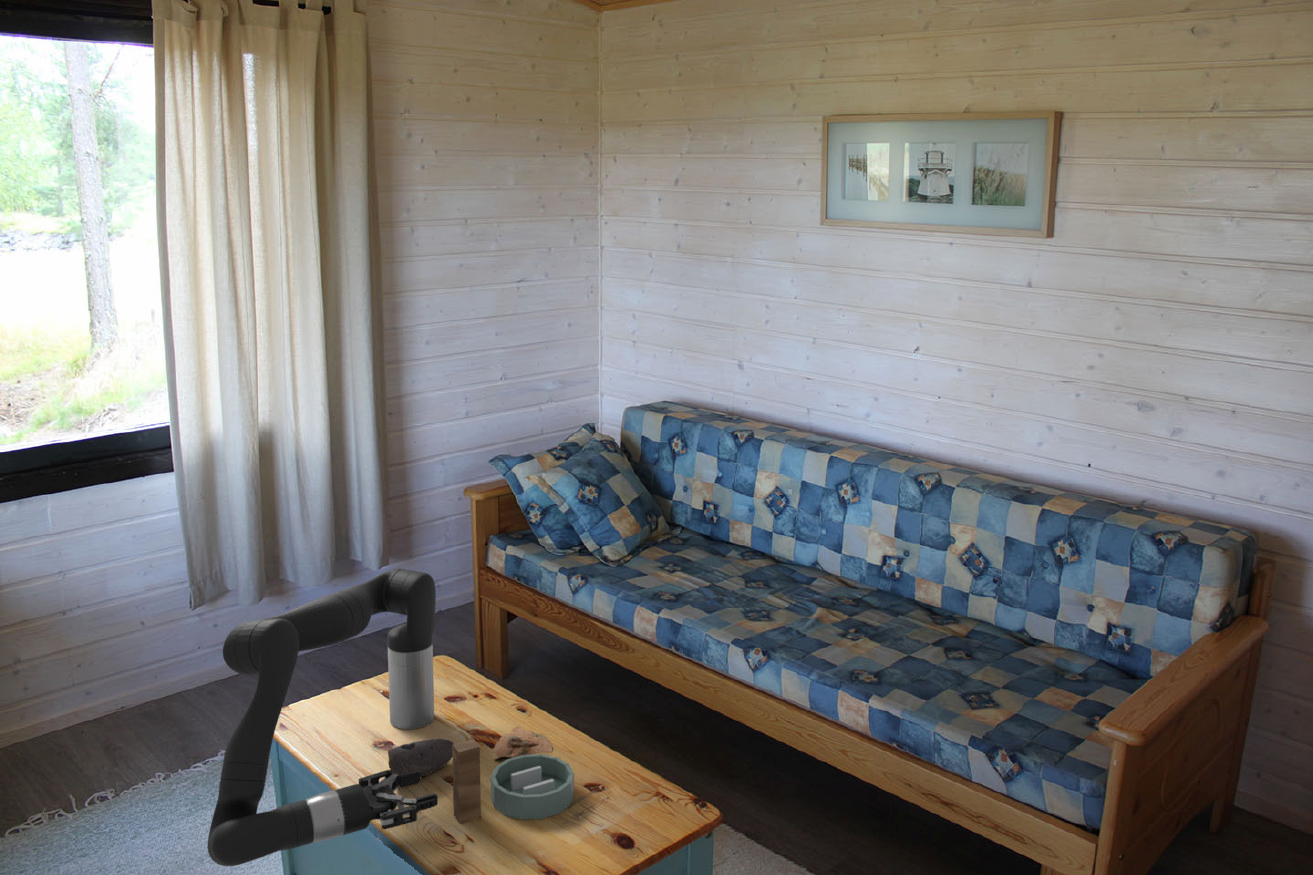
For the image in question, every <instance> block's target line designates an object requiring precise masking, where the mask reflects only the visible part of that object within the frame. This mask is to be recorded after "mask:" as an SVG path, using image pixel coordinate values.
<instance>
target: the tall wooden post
mask: <svg viewBox="0 0 1313 875" xmlns="http://www.w3.org/2000/svg"><path fill="white" fill-rule="evenodd" d="M452 754H453V757H452V790H453V792H452V793H453V794H452V795H453V796H452V797H453V816H454V818H455V819H456V820H457V822H458V823H459V824H460V825H461V824H464V823H466V822H470V821H473V820H476V819H480V818H481V817H482V802H481V801H482V800H481V798H482V797H481V796H482V793H481V789H482V787H481V746H480V745H479V744H478V743H477V742H476V740H474V739H470V740H466V741H462V742H458V743H454V745H452Z"/></svg>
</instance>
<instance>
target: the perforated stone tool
mask: <svg viewBox="0 0 1313 875" xmlns="http://www.w3.org/2000/svg"><path fill="white" fill-rule="evenodd" d="M454 744H455V743H454V742H453V741H452V740H450V739H445V738H437V737H436V738H428V739H423V740H418V741H412V742H409V743H404V744H401V745H399V746H396V747H393V748H390V749H388V750H387V755H388V761H387V762H388V767H389V770H391V773H392V774H398V775H401V774H405V773H409V772H412V771H416V770H418V771H419V772H420V776H421V778H422V777H425V776H427V775H429V774H432V773H434V772H435V771H439V769H442V768H443V767H444V766H446V765H447V764H448V763H449V762H450V761H451V760H453V754H452V745H454Z"/></svg>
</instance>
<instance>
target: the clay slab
mask: <svg viewBox="0 0 1313 875" xmlns="http://www.w3.org/2000/svg"><path fill="white" fill-rule="evenodd" d="M511 732H512V733H505V734H502V736H500V738H499V741H498V742H497V743H495V745H494V748H492V749H490V750H489V752H490V754H496V757H495V758H494V759H493V760H498V759H500V758H514V757H517V756H521V755H532V754H542V753H553V746H552V743H550V741H549V739H548V737H547V736H546V735H545V734H542V733H537V732H535V731H532V730H525V729H524V728H523V727H521V726H516V727H513V728H512V730H511Z"/></svg>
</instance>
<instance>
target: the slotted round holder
mask: <svg viewBox="0 0 1313 875" xmlns="http://www.w3.org/2000/svg"><path fill="white" fill-rule="evenodd" d="M574 795H575V773H574V771H573V769H572V767H571V765H570V764H569V763H568V762H566V761H564V760H562V759H561V758H560V757H559V756H558V757H556V756H552V755H548V754H547V755H546V754H544V753H543V754H542V753H535V754H531V755H521V756H517V757H509V758H507V759H505V760H503V761H502V762H501V763H499V764H498V765H496V766H495V767H494V769H493V771H492V773H491V775H490V799H491V803H492V805H493V807H494V809H495V810H497V811H498V812H500V813H501V814H502V815H504V816H506V817H510V818H514V819H518V820H523V821H524V820H525V821H527V820H543V819H546V818H550V817H552V816H556V815H559V814H560V813H562V812H563V811H564V810H566V809H567V808H568V807H570V806H571V804H572V801H573V799H574Z"/></svg>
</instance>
